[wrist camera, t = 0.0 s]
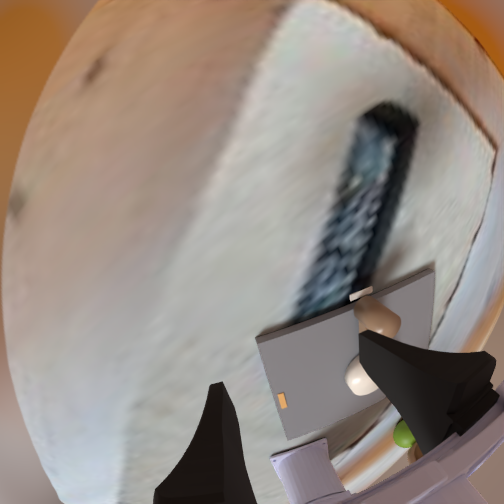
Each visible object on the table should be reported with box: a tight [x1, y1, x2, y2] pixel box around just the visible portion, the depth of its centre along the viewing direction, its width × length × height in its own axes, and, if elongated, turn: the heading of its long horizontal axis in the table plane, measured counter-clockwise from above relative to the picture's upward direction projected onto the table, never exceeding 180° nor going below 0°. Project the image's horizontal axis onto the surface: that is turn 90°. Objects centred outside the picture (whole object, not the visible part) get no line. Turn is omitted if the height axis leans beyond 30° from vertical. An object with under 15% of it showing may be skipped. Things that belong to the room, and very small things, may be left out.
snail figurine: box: [393, 420, 423, 465], centre depth 28 cm, size 5×6×12 cm
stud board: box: [255, 269, 435, 440], centre depth 26 cm, size 18×20×1 cm
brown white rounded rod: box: [344, 296, 401, 396], centre depth 22 cm, size 12×5×4 cm, turn 14°
